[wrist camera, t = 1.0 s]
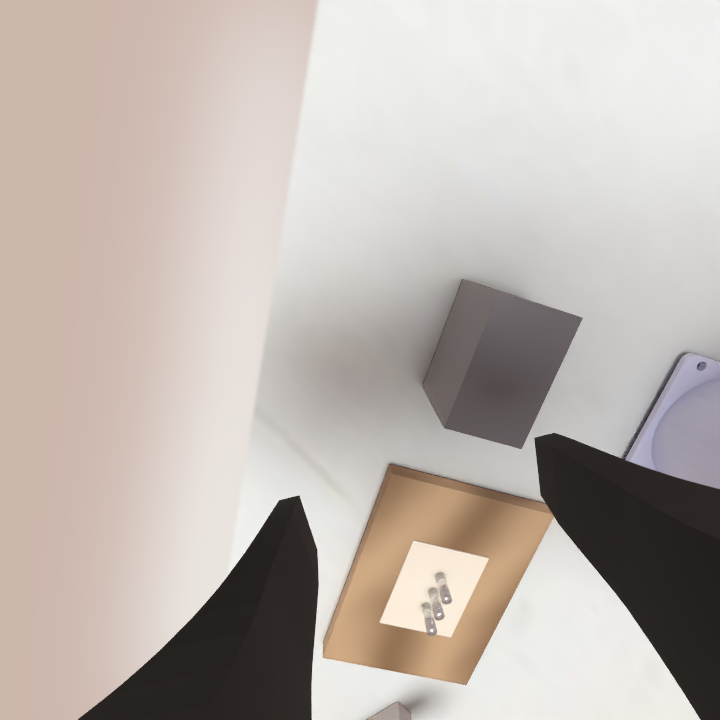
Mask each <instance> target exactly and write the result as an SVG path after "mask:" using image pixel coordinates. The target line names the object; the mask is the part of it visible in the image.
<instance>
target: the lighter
mask: <svg viewBox="0 0 720 720" xmlns="http://www.w3.org/2000/svg"><path fill="white" fill-rule="evenodd" d="M367 720H412V719H411V712H409V711H408V710H407V709H406V708H405V707H404V706H403V705H401V704H400V703H399V702H395V703H393V704H392V705H390V706H388V707H387V708H385V709H384V710H382V711H380V712H379V713H377V714H375V715H374V716H372V717H370V718H369V719H367Z"/></svg>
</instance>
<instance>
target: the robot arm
mask: <svg viewBox="0 0 720 720" xmlns="http://www.w3.org/2000/svg"><path fill="white" fill-rule="evenodd" d="M699 363H700V366H699V367H698V368H697V365H698V364H699ZM535 447H536V456H537V465H538V474H539V483H540V492H541V496H542V498H543V499H544V501H545V503H546V504H547V506H548V508H549V509H550V511H551V512H552V514H553V516H554V517H555V519H556V520H557V522H558V523H559V525H560V526H561V527H562V529H563V530H564V531H565V532H566V534H567V535H568V536H569V537H570V538H571V540H572V541H573V542H574V543H575V545H576V546H577V547H578V548H579V549H580V551H581V552H582V553H583V554H584V556H585V557H586V558H587V559H588V560H589V562H590V563H591V564H592V565H593V566H594V568H595V569H596V570H597V571H598V572H599V574H600V575H601V576H602V577H603V579H604V580H605V581H606V582H607V583H608V585H609V586H610V587H611V588H612V589H613V591H614V592H615V593H616V594H617V596H618V597H619V598H620V600H621V601H622V602H623V604H624V605H625V606H626V607H627V609H628V610H629V612H630V613H631V615H632V616H633V617H634V619H635V620H636V622H637V623H638V625H639V626H640V628H641V629H642V631H643V632H644V633H645V635H646V636H647V638H648V639H649V641H650V642H651V644H652V645H653V647H654V648H655V650H656V651H657V653H658V654H659V656H660V657H661V659H662V660H663V662H664V663H665V665H666V666H667V668H668V669H669V671H670V672H671V674H672V675H673V677H674V679H675V680H676V682H677V683H678V685H679V686H680V688H681V689H682V691H683V692H684V694H685V695H686V697H687V699H688V700H689V702H690V703H691V705H692V707H693V708H694V710H695V711H696V713H697V715H698V716H699V718H700V719H701V720H720V362H719V361H716V360H713V359H709V358H706V357H703V356H700V355H697V354H694V353H687V354H685V355H684V356H682V358H681V359H680V361H679V362H678V364H677V366H676V368H675V370H674V372H673V373H672V375H671V377H670V379H669V381H668V382H667V384H666V386H665V388H664V390H663V392H662V393H661V395H660V397H659V399H658V401H657V402H656V404H655V406H654V408H653V410H652V411H651V413H650V415H649V417H648V419H647V421H646V422H645V424H644V426H643V428H642V430H641V431H640V433H639V435H638V437H637V439H636V441H635V442H634V444H633V446H632V448H631V450H630V451H629V453H628V455H627V457H626V459H625V460H624V459H621V458H618V457H616V456H613V455H611V454H608V453H606V452H603V451H600V450H598V449H595V448H593V447H590V446H588V445H585V444H583V443H580V442H578V441H575V440H573V439H570V438H568V437H565V436H562V435H559V434H556V433H552V434H548V435H544V436H540V437H536V438H535ZM318 584H319V583H318V557H317V548H316V545H315V542H314V539H313V536H312V533H311V530H310V527H309V524H308V521H307V518H306V515H305V512H304V509H303V506H302V503H301V499H300V496H295V497H291V498H287V499H283V500H279V502H278V503H277V505H276V506H275V508H274V509H273V511H272V512H271V514H270V515H269V517H268V519H267V520H266V522H265V523H264V525H263V526H262V528H261V530H260V531H259V533H258V534H257V536H256V537H255V539H254V540H253V542H252V543H251V545H250V546H249V548H248V549H247V551H246V552H245V554H244V555H243V556H242V558H241V559H240V560H239V562H238V563H237V564H236V566H235V567H234V568H233V570H232V571H231V572H230V574H229V575H228V577H227V578H226V579H225V580H224V582H223V583H222V584H221V586H220V587H219V588H218V589H217V590H216V592H215V593H214V594H213V595H212V596H211V597H210V599H209V600H208V601H207V602H206V603H205V605H203V607H202V608H201V609H200V610H199V611H198V612H197V613H196V614H195V616H194V617H193V618H192V619H191V620H190V621H189V622H188V623H187V624H186V625H185V626H184V627H183V628H182V629H181V630H180V631H179V632H178V633H177V634H176V635H175V636H174V637H173V638H172V639H171V640H170V641H169V642H168V643H167V644H166V645H165V646H164V647H163V648H162V649H161V650H160V651H159V652H158V653H157V654H156V655H154V656H153V657H152V658H151V659H150V660H149V661H148V662H147V663H146V664H145V665H144V666H142V667H141V668H140V669H139V670H138V671H137V672H136V673H134V674H133V675H132V676H131V677H130V678H129V679H128V680H126V681H125V682H124V683H123V684H122V685H121V686H119V687H118V688H117V689H116V690H114V691H113V692H112V693H111V694H110V695H108V696H107V697H106V698H105V699H104V700H102V701H101V702H100V703H98V704H97V705H96V706H95V707H93V708H92V709H91V710H89V711H88V712H87V713H85V714H84V715H83V716H82V717H80V718H79V719H78V720H312V718H311V680H312V661H313V649H314V637H315V624H316V612H317V598H318Z"/></svg>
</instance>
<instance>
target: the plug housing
mask: <svg viewBox="0 0 720 720" xmlns="http://www.w3.org/2000/svg"><path fill="white" fill-rule="evenodd" d="M581 321H582V318H581V317H578V316H575V315H572V314H569V313H566V312H563V311H560V310H557V309H554V308H551V307H548V306H545V305H542V304H538V303H535V302H532V301H529V300H526V299H523V298H520V297H517V296H514V295H511V294H507V293H504V292H501V291H498V290H495V289H492V288H489V287H486V286H483V285H480V284H476V283H473V282H470V281H467V280H464V279H462V281H461V284H460V287H459V289H458V292H457V295H456V297H455V300H454V303H453V305H452V308H451V311H450V313H449V316H448V319H447V322H446V324H445V327H444V330H443V332H442V335H441V338H440V340H439V343H438V346H437V348H436V351H435V354H434V356H433V359H432V362H431V364H430V367H429V370H428V372H427V375H426V378H425V380H424V383H423V386H422V387H423V389H424V391H425V393H426V395H427V396H428V398H429V400H430V402H431V404H432V406H433V408H434V410H435V412H436V413H437V415H438V417H439V419H440V421H441V423H442V425H443V427H444V428H446V429H450V430H454V431H457V432H461V433H465V434H468V435H472V436H476V437H479V438H483V439H487V440H490V441H494V442H498V443H501V444H505V445H509V446H513V447H516V448H520V449H522V447H523V445H524V442H525V440H526V438H527V436H528V434H529V432H530V430H531V427H532V425H533V423H534V421H535V419H536V417H537V415H538V413H539V410H540V408H541V406H542V404H543V402H544V400H545V398H546V395H547V393H548V391H549V389H550V387H551V385H552V383H553V380H554V378H555V376H556V374H557V372H558V370H559V368H560V365H561V363H562V361H563V359H564V357H565V355H566V353H567V350H568V348H569V346H570V344H571V342H572V340H573V338H574V336H575V333H576V331H577V329H578V327H579V325H580V323H581Z"/></svg>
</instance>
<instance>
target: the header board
mask: <svg viewBox="0 0 720 720" xmlns="http://www.w3.org/2000/svg"><path fill="white" fill-rule="evenodd" d="M553 517H554V516H553V514H552V512H551V511H550V509H549V508H548V506H547V505H546V504H544V503H540V502H536V501H532V500H528V499H524V498H520V497H516V496H512V495H508V494H505V493H501V492H497V491H493V490H489V489H485V488H481V487H477V486H473V485H469V484H466V483H462V482H458V481H454V480H450V479H446V478H442V477H438V476H434V475H430V474H427V473H423V472H419V471H415V470H411V469H407V468H403V467H399V466H395V465H391V464H389V467H388V470H387V473H386V475H385V478H384V481H383V483H382V486H381V489H380V491H379V494H378V497H377V500H376V502H375V505H374V508H373V510H372V513H371V516H370V518H369V521H368V524H367V526H366V529H365V532H364V535H363V537H362V540H361V543H360V545H359V548H358V551H357V553H356V556H355V559H354V562H353V564H352V567H351V570H350V572H349V575H348V578H347V580H346V583H345V586H344V588H343V591H342V594H341V597H340V599H339V602H338V605H337V607H336V610H335V613H334V615H333V618H332V621H331V624H330V626H329V629H328V632H327V634H326V637H325V640H324V642H323V658H328V659H333V660H338V661H343V662H348V663H354V664H359V665H364V666H369V667H375V668H380V669H385V670H390V671H395V672H401V673H406V674H411V675H416V676H421V677H427V678H432V679H437V680H442V681H448V682H453V683H458V684H463V685H467V683H468V681H469V679H470V677H471V675H472V673H473V671H474V669H475V667H476V665H477V664H478V662H479V660H480V658H481V656H482V654H483V652H484V650H485V648H486V646H487V644H488V642H489V640H490V638H491V637H492V635H493V633H494V631H495V629H496V627H497V625H498V623H499V621H500V619H501V617H502V615H503V613H504V612H505V610H506V608H507V606H508V604H509V602H510V600H511V598H512V596H513V594H514V592H515V590H516V588H517V586H518V585H519V583H520V581H521V579H522V577H523V575H524V573H525V571H526V569H527V567H528V565H529V563H530V561H531V560H532V558H533V556H534V554H535V552H536V550H537V548H538V546H539V544H540V542H541V540H542V538H543V536H544V534H545V533H546V531H547V529H548V527H549V525H550V523H551V521H552V519H553Z"/></svg>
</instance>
